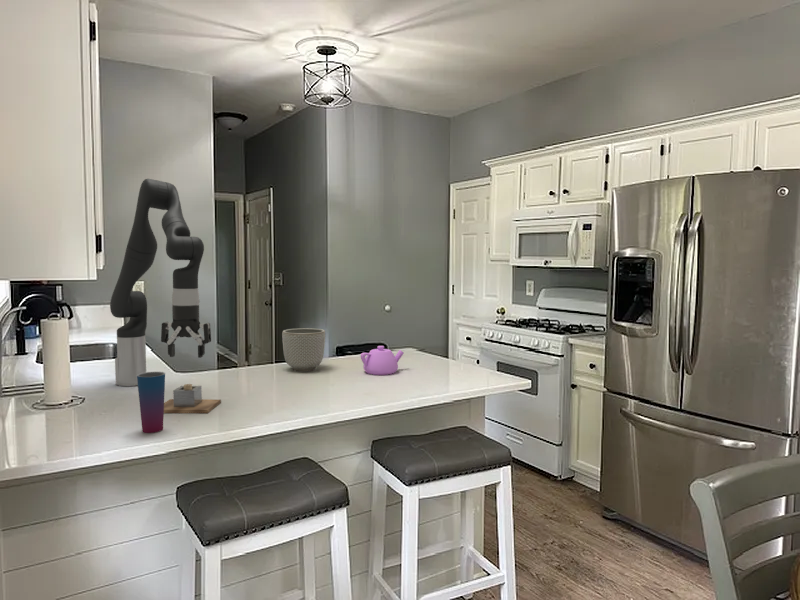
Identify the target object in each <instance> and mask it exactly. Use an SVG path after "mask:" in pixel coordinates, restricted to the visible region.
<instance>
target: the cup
mask: <svg viewBox="0 0 800 600" xmlns="http://www.w3.org/2000/svg"><path fill="white" fill-rule="evenodd" d="M137 382H138V385H137V388H138V390H137V391H138V401H139V410H140V411H139V412H140V420H141V431H142V432H143V433H145V434H155V433H158V432H159V433H160V432H162V431H163V430H164V415H165V413H164V403H165V392H166V391H165V388H166V387H165V386H166V372H164V371H146V372H145V373H140V374H138V375H137Z"/></svg>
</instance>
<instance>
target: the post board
mask: <svg viewBox="0 0 800 600" xmlns="http://www.w3.org/2000/svg"><path fill="white" fill-rule="evenodd" d="M183 386H184V390H192V386H193V384H191V383H187V384H186V383H185V384H183ZM220 404H222V399H204V398H202V402H201V403H200V404H198V405H197V406H195V407H174V400H173V398H171V399H168V400H167V401H164V414H209V413H210V412H211V411H213V410H214V409H215V408H217V406H219V405H220Z"/></svg>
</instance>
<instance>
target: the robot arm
mask: <svg viewBox="0 0 800 600" xmlns="http://www.w3.org/2000/svg"><path fill="white" fill-rule="evenodd" d="M181 205H182V203H181V201H180V196H179V192H178V189H177V187H176V186H175V185H174V184H172V183H170V182H166V181H162V180H157V179H153V178H145V179H144V180H142V182H141V185H140V188H139V192H138V196H137V202H136V208H135V215H134V218H133V224H132V227H131V232H130V235H129V237H128V241H127V245H126V247H125V248H126V249H125V254H124V258H123V262H122V265H121V269H120V273H119V275H118V279H117V282H116V284H115V287H114V289H113V292H112V294H111V299H110V302H109V303H110V305H109V308H110V313H111V315H112V316H113V317H115V318H117V319H118V318H119V319H122V318H123V319H126V318H129V320H128V321H127V322H126V323H125V324H123V326H120V327H118V328H117V329H116V351H117V356H116V357H115V359H114V370H115V371H114V372H115V385H116V386H120V387H121V386H122V387H134V386H138V382H137V375H138V374H140V373H145V372H147V350H146V349H147V347H146V346H147V345H146V344H147V343H146V330H147V326H148V325H147V324H148V323H147V322H148V319H147V318H148V300H147V296H146V295H145V293H144V292H143V291H140V290H133V289H134V286H135V285H136V283H137V282H138V281H139V280H140V279H141V278H142V277H143V276H144V275H145V274H146V273H147V272H148V271H149V270H150V268H151V267H152V265H153V263H154V261H155V257H156V254H157V250H158V242H157V239H156V236H155V233H154V231H153V229H152V226H151V224H150V220H149V219H150V218H149V211H150V208H152V209H157V210H161V211H162V210H163V211H166V212H164V214H163V216H162V218H161V227H162V230H163V233H164V235H165V236H166V237H165V238H166V244H165V251H166V255H167V257H169V259H171V260H174V261H189V263H188V264H187V266H184V267H180V268H175V269H174V270H173V271H172V295H171V296H172V297H171V298H172V300H171V301H172V303H171V305H172V307H171V308H172V310H171V311H172V314H171V316H172V322H169V321H165V322H161V331H160V332H161V333H160V336H161V337H160V342H161V343H164V344H166V345H167V354H168V355H169V357H170V358H174V357H175V356H176V350H175V349H176V344H175V342H176V341H177V339H178V338H185V337H186V338H193V340H195V341H196V343H197V344H198V345H197V357H198V358H203V357H204V356H205V354H206V350H205V347H206V344H209V343H211V342H212V333H211V332H212V330H211V323H210V322H205V323H201V322H200V293H199V271H200V265H201V262H202V260H203V256H204V252H205V245H204V242H203V240H202V239H201V238H200V237H198V236H191V230H190V228H189V226H188V224H187V222H186V220H185V218H184V215H183V210H182V206H181ZM171 328H172V330H173V331H174V332H173V333H172V334H171V336H170V337H169V332H170V330H171ZM200 328H201V330H202V331H203V335H202V334H201V333H200V332H199V330H200Z"/></svg>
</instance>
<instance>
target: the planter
mask: <svg viewBox="0 0 800 600" xmlns="http://www.w3.org/2000/svg"><path fill="white" fill-rule="evenodd" d="M281 336H282V340H281V341H282V349H283V357H284V360H285V362H286V364H287V365H288V366H290V367H291V368H292V370H293V371H295V372H302V373H306V372H312V371H315V370H316V368H317V367H318V366H319V365H320V364H322V362H323V359H324V355H325V346H326V345H325V344H326V330H325V329H322V328H311V327H305V328H303V327H301V328H300V327H299V328H297V327H296V328H287V329H283V330H282V333H281Z"/></svg>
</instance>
